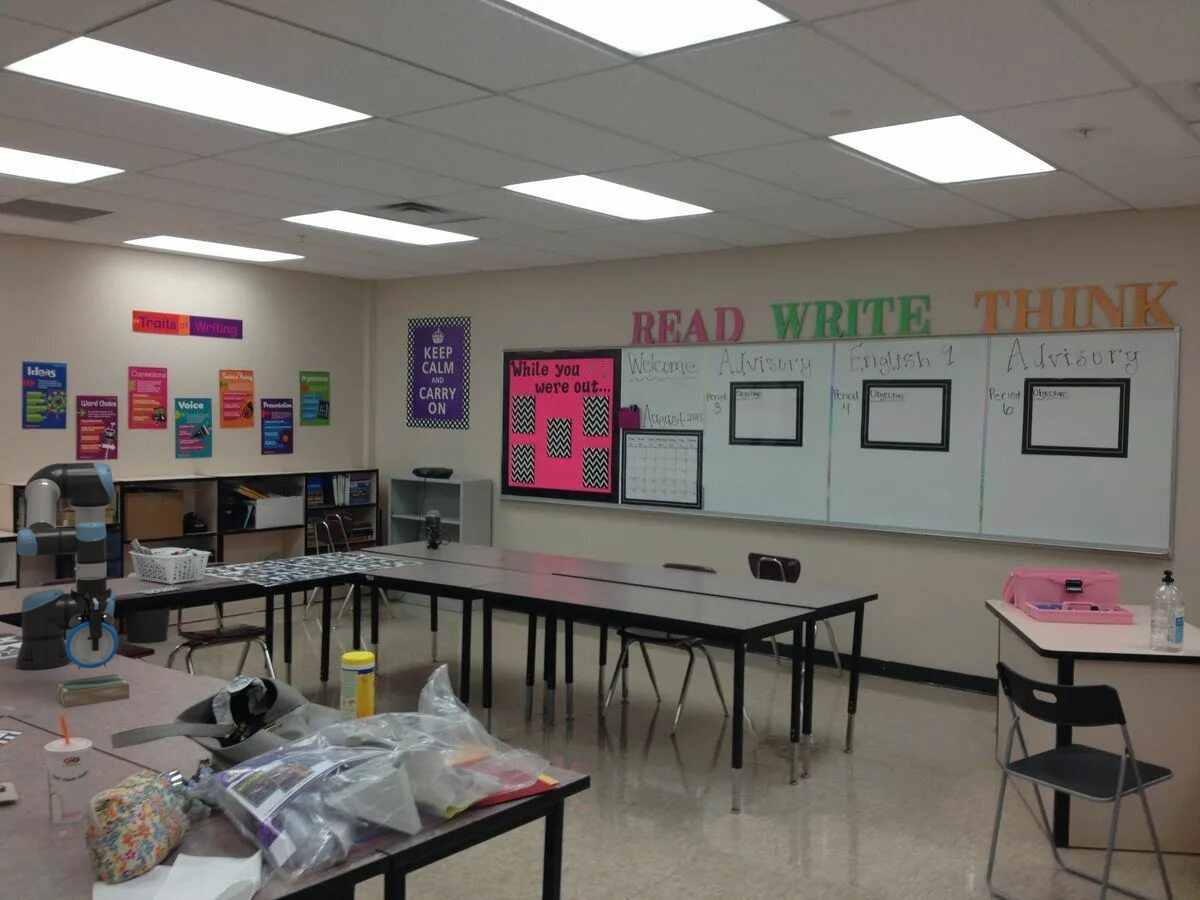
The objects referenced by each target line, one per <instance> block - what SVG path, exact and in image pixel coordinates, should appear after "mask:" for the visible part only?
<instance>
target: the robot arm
mask: <svg viewBox="0 0 1200 900" xmlns="http://www.w3.org/2000/svg"><path fill="white" fill-rule="evenodd" d="M24 488H25V489H24V496H25V499H26V500H27V510H26V511H27V514H26V529H20V530H19V531H17V533H16V535H17V536H16V537H17V538H16V539H17V540H16V541H17V542H16V544H17V554H18V555H19V556H21V557H36V556H37V557H38V556H55V555H56V556H57V555H72V554H73V555H75V567H74V568H73V569H74V571H75V583H74V584H73V585H72V586H71V587H70V593H65V591H64V590H63V589H61V588H56V589H47V590H41V591H37V592H33V593H30V594H27V595H25V596H24V597H23V598H22V602H21V610H20V612H21V637H22V638H21V639H22V640H21V645H20V648H19V650H18V653H17V656H16V661H15V667H16V669H20V670H33V671H34V670H43V669H44V670H45V669H52V668H53V669H54V668H58V667H61V666H62V667H63V666H65V665H68V664H70V662H71V660H70V659H69V657H68V655H67V653H66V641H65V639H64V636H65V635H64V633H65V632H64V631H68V630H69V631H70V630H71V629H72V628H73V627H70V626H69V622H70V620H71V619H72V618H73V617H74V615H75V616H76V615H78V614H84V615H86V616H87V619H89V628H90V637H88V638H87V640H89V663H94V662H101V654H100V638H101V637H102V622H101V613H110V614H111V615H112V616H113V617H114V612H115V605H116V604H115V603H116V597H117V596H116V594H117V593H116V590H113V589H112V588H111V587H112V586H111V584H110V583H108V581H107V578H106V576H107V569H108V568H107V566H108V565H107V528H106V509H107V508H108V507H109V506H110V505H111V500H113V499H116V496H115V495H116V494H115V489H114V480H113V474H112V468H111V466H110V465H109V464H108V463H105V462H95V461H94V462H68V463H66V462H65V463H64V462H60V463H57V462H56V463H52V464H50V465H49V464H48V465H46V466H44V467H43V468H42V467H41V468H40V469H39V470H37V471H36V472H35V473H34V474H32V475H31V476H30V477H29V479H28V481H27V482H26V485H25V487H24ZM58 501H69V506H70V507H71V508H72V509H74V513H75V514H74V515H75V517H74V520H75V521H74V522H75V526H74V527H57V502H58ZM94 633H95V634H94Z"/></svg>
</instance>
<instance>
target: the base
mask: <svg viewBox="0 0 1200 900" xmlns="http://www.w3.org/2000/svg"><path fill="white" fill-rule="evenodd" d="M56 698H57V699H58V700H59V702H60V703H61V705H63V707H64V708H70V707H71V708H72V707H79V706H85V705H92V704H100V703H105V702H106V701H107V702H114V701H120V700H119V699H121V700H127V699H130V684H129V683H128V682H127V681H126V680H125V679H124V678H123V677H122V676H121V675H120V674H119V673H118V674H109V675H101V676H100V675H99V676H94V677H93V676H92V677H87V678H85V677H84V678H79V679H71V680H70V679H69V680H63V681H57V682H56ZM126 698H127V699H126ZM113 700H114V701H113Z"/></svg>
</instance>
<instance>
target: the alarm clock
mask: <svg viewBox="0 0 1200 900" xmlns="http://www.w3.org/2000/svg"><path fill="white" fill-rule="evenodd" d="M101 622H102V637H101V638H100V654H101V662H94V663H89V640H87V638H88V637H90V628H89V619H87V616H86V615H84V614H78V615H76V616H75V615H74V617H73V618H72V619H71V620H70V622H69V626H70V627H73V628H72V629H71V630H69V631H68V634H67V637H66V641H65V644H66V653H67V655H68V657H69V659H70V662H71V663H72V664H75V665H76V666H78V670H80V669H81V668H83V669H96V668H100V667H102V666H104V667H105V668H107V665H106V664H108V663H109V662H110V661H111V660H112V659H113V658H114V657H115V655H116V653H117V652H118V648H119V637H118V636H119V635H118V633H117V630H116V628H115V627H114V626H113V625H114V624H115V618H114V615H113V616H112V615H111V614H110V613H101ZM94 634H95V633H94Z"/></svg>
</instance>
